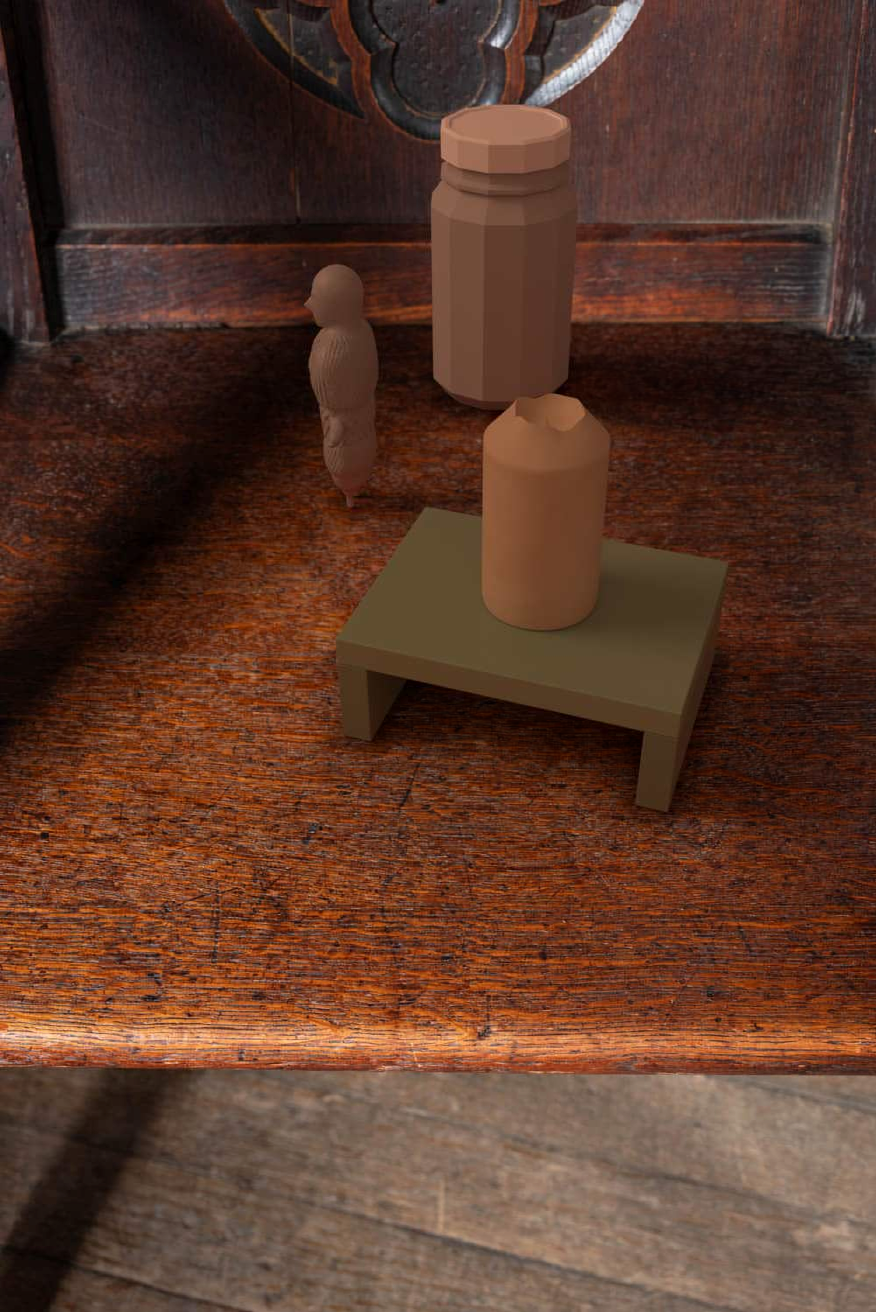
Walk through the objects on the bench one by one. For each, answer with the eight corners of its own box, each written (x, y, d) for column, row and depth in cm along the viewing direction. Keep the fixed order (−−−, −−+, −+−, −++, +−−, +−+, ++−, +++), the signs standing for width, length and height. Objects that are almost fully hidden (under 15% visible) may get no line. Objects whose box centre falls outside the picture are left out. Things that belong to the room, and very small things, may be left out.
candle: (548, 648, 57) (559, 453, 50) (457, 600, 60) (456, 410, 53) (620, 594, 60) (639, 404, 54) (531, 551, 63) (538, 366, 57)
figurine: (340, 460, 82) (323, 233, 73) (399, 466, 81) (390, 237, 72) (298, 539, 75) (274, 298, 65) (362, 546, 74) (347, 303, 65)
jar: (586, 407, 87) (605, 138, 76) (449, 424, 86) (448, 152, 74) (545, 348, 95) (557, 95, 83) (418, 362, 93) (413, 106, 82)
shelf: (714, 656, 66) (729, 561, 62) (667, 813, 57) (681, 713, 53) (427, 597, 70) (425, 505, 66) (342, 735, 61) (334, 638, 57)
